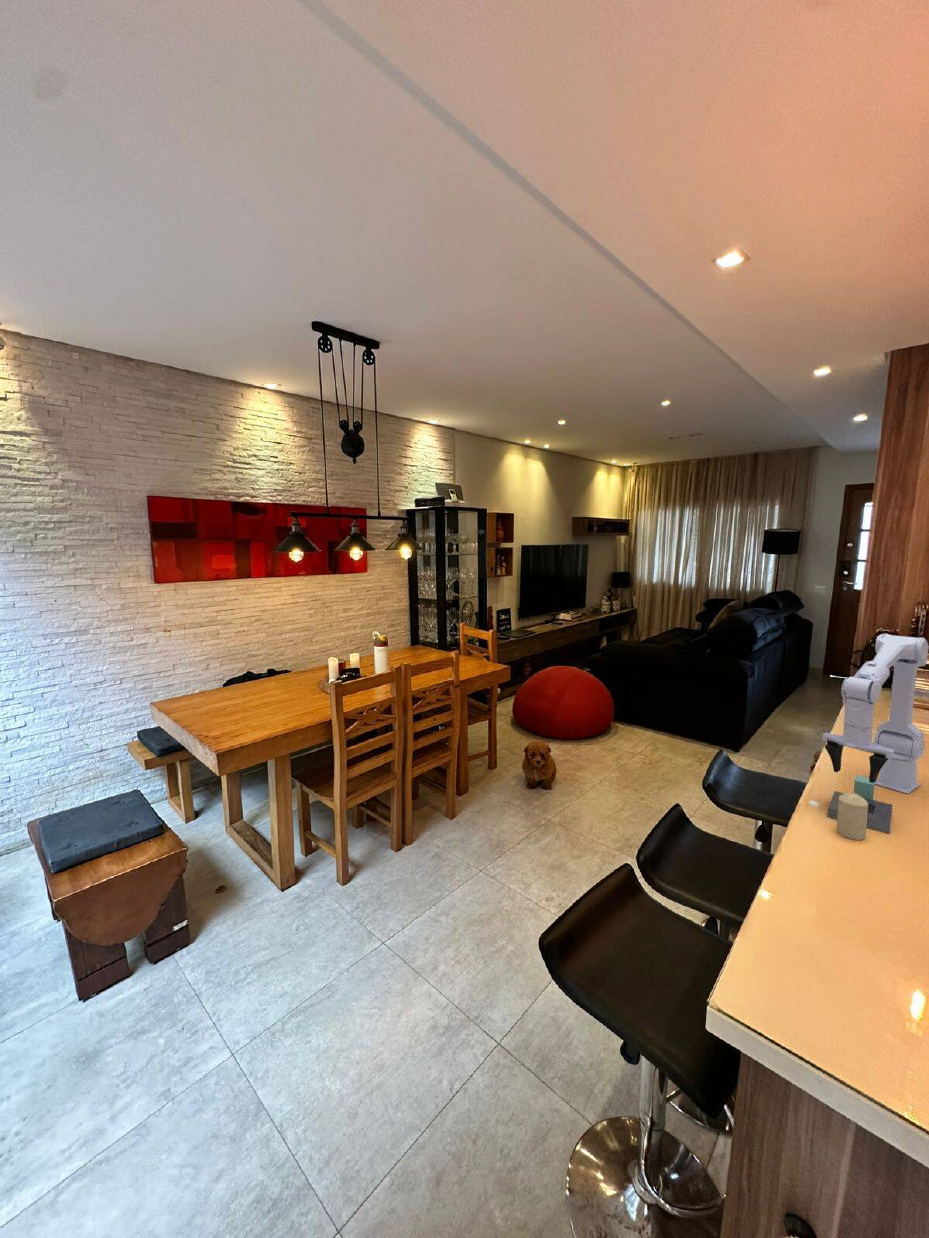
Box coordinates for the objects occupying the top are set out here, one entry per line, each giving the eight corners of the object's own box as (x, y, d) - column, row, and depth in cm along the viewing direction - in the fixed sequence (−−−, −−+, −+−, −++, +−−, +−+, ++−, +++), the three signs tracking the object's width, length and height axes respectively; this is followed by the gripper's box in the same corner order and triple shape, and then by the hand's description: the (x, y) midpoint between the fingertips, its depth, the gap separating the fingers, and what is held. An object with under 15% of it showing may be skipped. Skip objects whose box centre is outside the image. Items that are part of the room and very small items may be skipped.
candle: (870, 841, 116) (873, 800, 115) (844, 839, 117) (846, 799, 116) (857, 828, 122) (860, 789, 120) (831, 826, 123) (834, 788, 122)
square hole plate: (833, 799, 136) (834, 790, 136) (891, 813, 128) (892, 804, 128) (827, 817, 127) (828, 807, 127) (889, 833, 119) (890, 823, 119)
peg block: (854, 796, 138) (856, 775, 137) (873, 800, 135) (874, 779, 134) (853, 801, 135) (854, 780, 134) (872, 806, 132) (873, 784, 131)
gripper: (818, 720, 130) (814, 770, 131) (887, 736, 118) (883, 791, 119) (830, 715, 133) (827, 763, 135) (899, 730, 121) (894, 783, 123)
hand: (854, 776), depth 127 cm, fingers open, 7 cm apart
